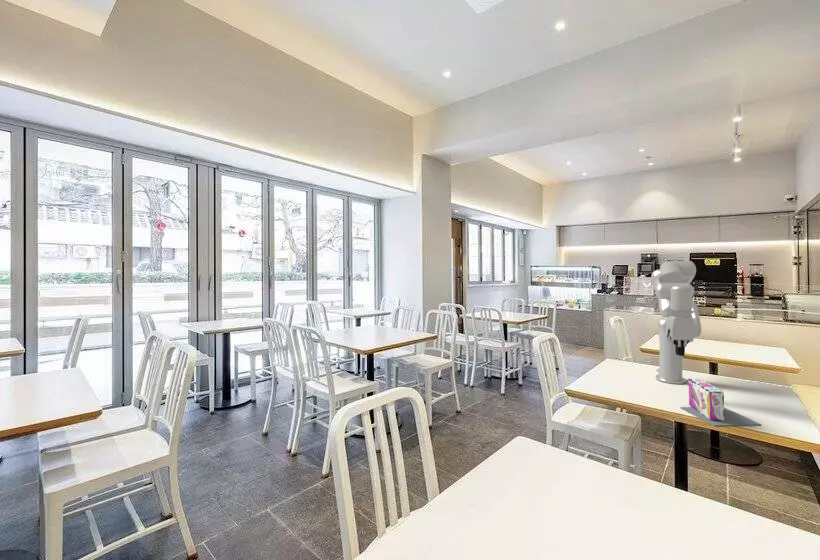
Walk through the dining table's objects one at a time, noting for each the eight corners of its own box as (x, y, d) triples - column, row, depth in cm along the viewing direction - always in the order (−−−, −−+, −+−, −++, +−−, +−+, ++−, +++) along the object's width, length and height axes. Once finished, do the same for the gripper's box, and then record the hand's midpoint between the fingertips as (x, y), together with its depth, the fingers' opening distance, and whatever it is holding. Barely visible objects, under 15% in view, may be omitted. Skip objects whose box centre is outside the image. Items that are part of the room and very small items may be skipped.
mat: (680, 408, 153) (680, 407, 153) (722, 407, 153) (722, 406, 153) (714, 426, 136) (714, 425, 136) (761, 425, 136) (761, 424, 136)
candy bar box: (687, 378, 156) (709, 390, 140) (701, 378, 154) (724, 391, 138) (687, 405, 156) (709, 420, 140) (701, 405, 155) (725, 421, 139)
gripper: (691, 311, 168) (690, 352, 169) (658, 312, 168) (657, 353, 169) (704, 314, 160) (703, 356, 162) (669, 315, 160) (668, 358, 162)
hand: (680, 355), depth 165 cm, fingers closed
